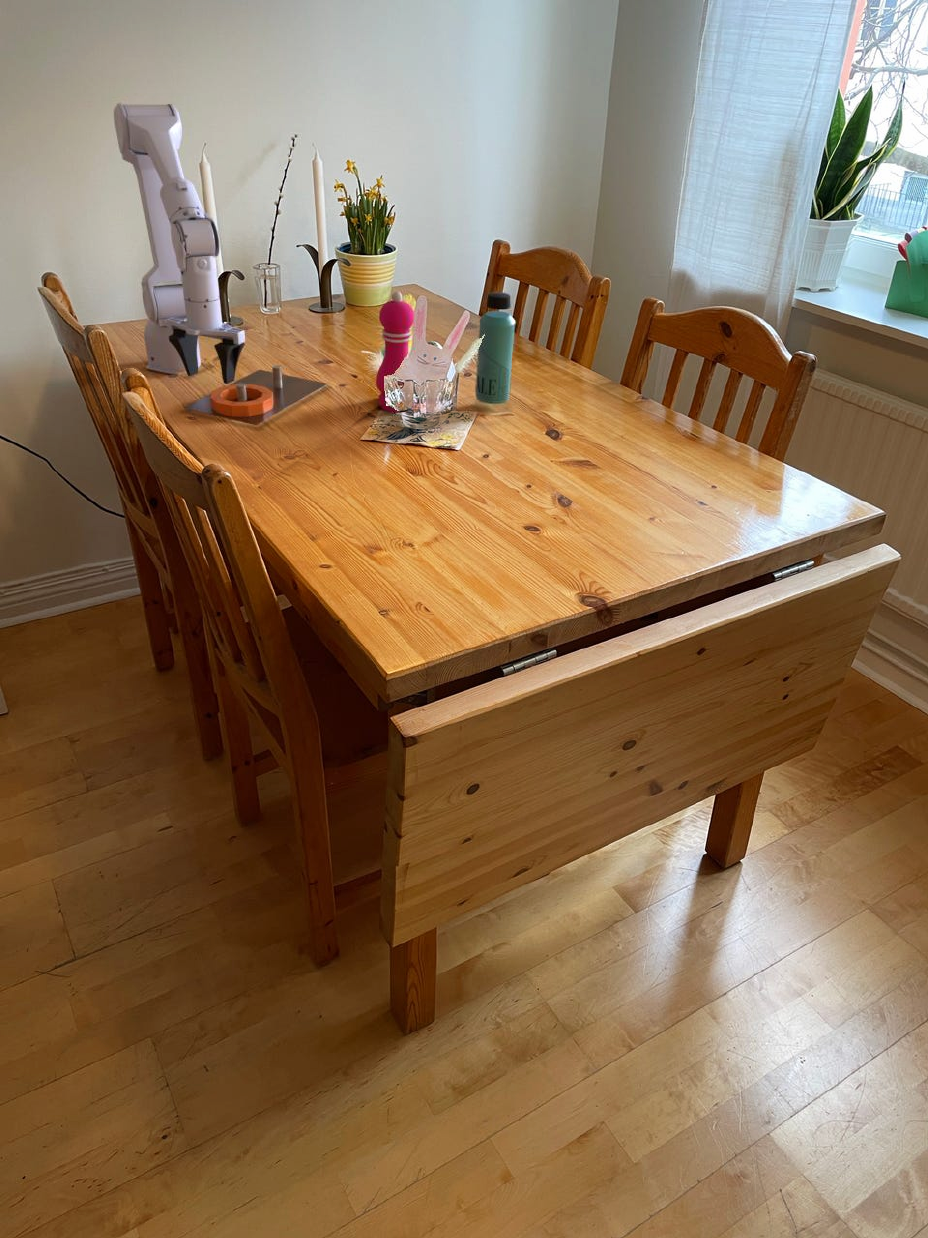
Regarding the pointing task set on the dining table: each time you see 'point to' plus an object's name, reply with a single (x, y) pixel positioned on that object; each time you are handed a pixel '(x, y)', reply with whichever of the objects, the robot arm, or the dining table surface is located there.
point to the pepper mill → (394, 340)
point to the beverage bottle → (495, 351)
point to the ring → (241, 409)
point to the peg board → (281, 385)
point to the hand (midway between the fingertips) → (210, 378)
